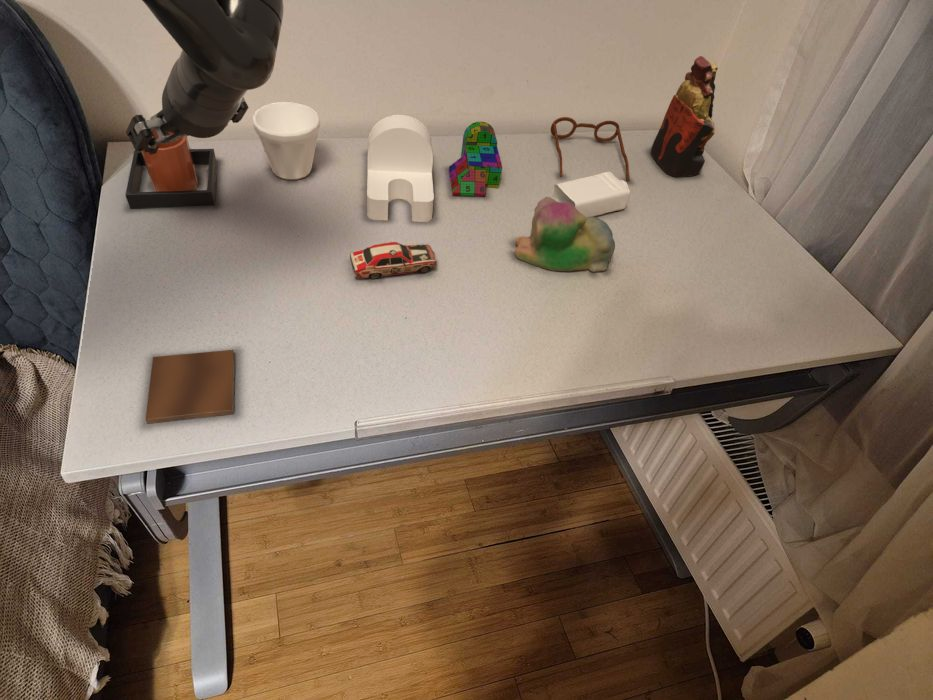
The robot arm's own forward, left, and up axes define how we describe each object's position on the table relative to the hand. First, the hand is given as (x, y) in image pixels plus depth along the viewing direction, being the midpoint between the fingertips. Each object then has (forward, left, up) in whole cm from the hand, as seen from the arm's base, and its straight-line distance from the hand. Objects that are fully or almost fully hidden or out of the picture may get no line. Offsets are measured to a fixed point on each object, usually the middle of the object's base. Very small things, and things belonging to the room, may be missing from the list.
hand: (179, 137), depth 83 cm
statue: (+84, +9, -11) cm, 85 cm away
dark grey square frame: (-3, +6, -11) cm, 13 cm away
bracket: (+31, +4, -11) cm, 33 cm away
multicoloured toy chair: (+44, +6, -12) cm, 46 cm away
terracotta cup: (-3, +6, -11) cm, 13 cm away
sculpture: (+53, -16, -12) cm, 57 cm away
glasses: (+67, +10, -11) cm, 69 cm away
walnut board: (+1, -34, -11) cm, 36 cm away
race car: (+27, -16, -12) cm, 34 cm away
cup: (+14, +9, -11) cm, 20 cm away
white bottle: (+62, -4, -12) cm, 63 cm away
